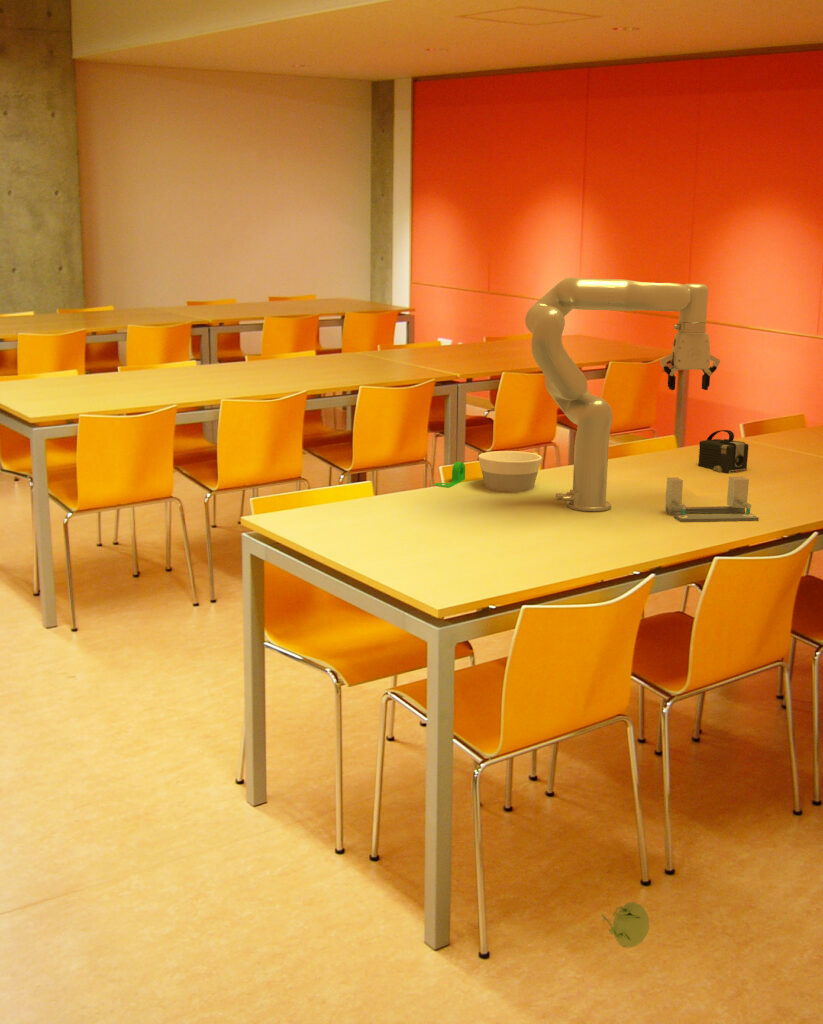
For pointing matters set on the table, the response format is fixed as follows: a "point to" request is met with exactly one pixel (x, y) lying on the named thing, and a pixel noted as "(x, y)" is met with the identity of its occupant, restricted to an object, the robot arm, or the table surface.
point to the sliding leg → (738, 493)
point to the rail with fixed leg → (677, 508)
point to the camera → (723, 454)
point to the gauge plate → (716, 517)
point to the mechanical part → (455, 475)
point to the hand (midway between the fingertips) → (688, 389)
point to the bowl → (509, 470)
